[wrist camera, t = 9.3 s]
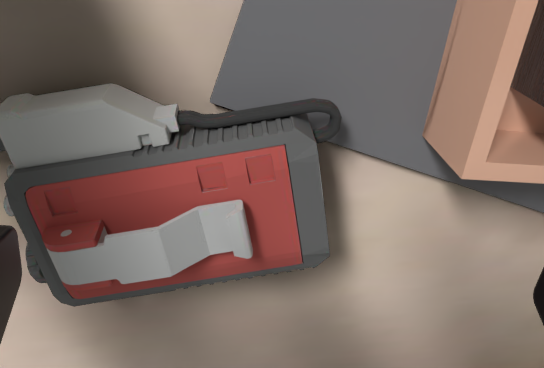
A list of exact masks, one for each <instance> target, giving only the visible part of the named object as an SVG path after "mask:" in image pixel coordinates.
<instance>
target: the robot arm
mask: <svg viewBox="0 0 544 368" xmlns="http://www.w3.org/2000/svg"><path fill="white" fill-rule="evenodd" d="M21 277H22V267H21V259H20V251H19V243H18V236H17V232H16V230H15V229H14V228H13V227H12V226H6V225H0V344H1V341H2V338H3V335H4V332H5V329H6V326H7V323H8V320H9V317H10V314H11V311H12V307H13V304H14V301H15V298H16V295H17V292H18V289H19V286H20V283H21ZM533 299H534V304H535V306H536V309H537V311H538V313H539V316H540V318H541V320H542V323H543V325H544V268H543V270H542V272H541V275H540V277H539V279H538V282H537V284H536V286H535V289H534V293H533Z"/></svg>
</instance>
